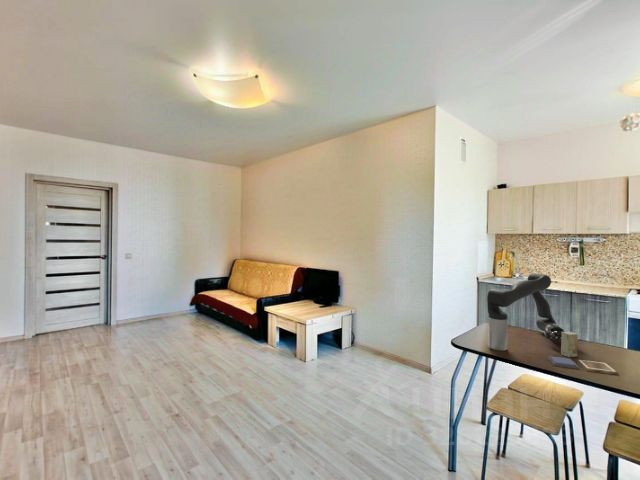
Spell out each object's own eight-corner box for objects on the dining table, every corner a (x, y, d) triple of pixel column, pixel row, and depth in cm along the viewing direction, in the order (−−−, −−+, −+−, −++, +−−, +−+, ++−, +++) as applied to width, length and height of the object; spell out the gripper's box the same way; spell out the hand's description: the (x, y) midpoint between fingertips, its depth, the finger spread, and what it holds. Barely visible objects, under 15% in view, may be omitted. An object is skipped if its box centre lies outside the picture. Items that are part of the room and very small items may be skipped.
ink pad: (553, 365, 153) (553, 362, 153) (547, 358, 162) (547, 355, 162) (578, 369, 149) (578, 366, 149) (570, 361, 159) (571, 358, 159)
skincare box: (568, 357, 163) (569, 334, 163) (560, 354, 168) (560, 332, 167) (577, 356, 165) (578, 333, 165) (569, 353, 169) (569, 331, 169)
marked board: (586, 370, 148) (586, 368, 148) (576, 361, 159) (576, 358, 159) (618, 375, 143) (618, 372, 143) (605, 365, 154) (606, 362, 154)
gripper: (540, 323, 190) (549, 331, 175) (569, 326, 185) (580, 334, 170) (540, 335, 190) (549, 344, 175) (569, 338, 185) (580, 347, 170)
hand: (564, 339), depth 173 cm, fingers open, 8 cm apart
